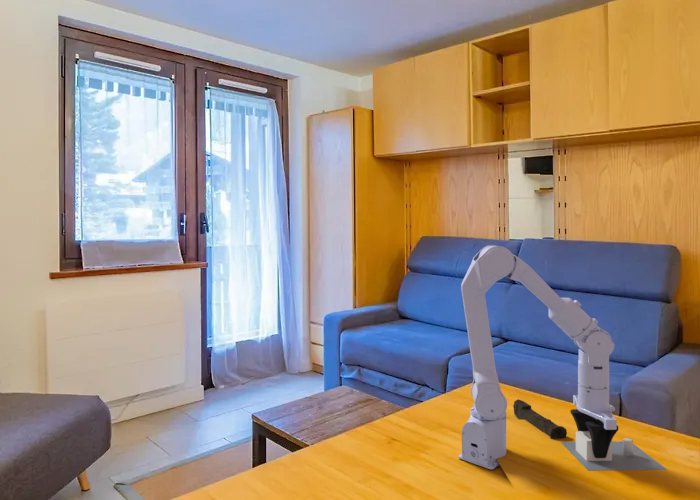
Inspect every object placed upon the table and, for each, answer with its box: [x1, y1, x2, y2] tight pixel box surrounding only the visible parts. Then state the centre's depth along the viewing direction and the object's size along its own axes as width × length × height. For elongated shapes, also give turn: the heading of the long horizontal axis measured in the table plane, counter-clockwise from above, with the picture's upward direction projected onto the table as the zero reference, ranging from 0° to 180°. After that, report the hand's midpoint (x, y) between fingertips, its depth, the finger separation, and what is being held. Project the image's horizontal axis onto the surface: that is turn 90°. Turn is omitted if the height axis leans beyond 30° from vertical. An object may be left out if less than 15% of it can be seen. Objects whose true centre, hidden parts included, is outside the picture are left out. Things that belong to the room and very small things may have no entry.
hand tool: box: [512, 399, 568, 440], centre depth 121 cm, size 19×4×5 cm, turn 10°
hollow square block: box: [575, 430, 613, 461], centre depth 103 cm, size 5×5×4 cm
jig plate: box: [560, 437, 668, 472], centre depth 103 cm, size 15×13×4 cm
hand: (593, 451), depth 103 cm, fingers closed on hollow square block, 5 cm apart
